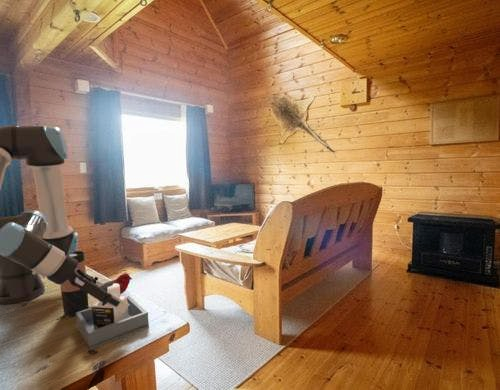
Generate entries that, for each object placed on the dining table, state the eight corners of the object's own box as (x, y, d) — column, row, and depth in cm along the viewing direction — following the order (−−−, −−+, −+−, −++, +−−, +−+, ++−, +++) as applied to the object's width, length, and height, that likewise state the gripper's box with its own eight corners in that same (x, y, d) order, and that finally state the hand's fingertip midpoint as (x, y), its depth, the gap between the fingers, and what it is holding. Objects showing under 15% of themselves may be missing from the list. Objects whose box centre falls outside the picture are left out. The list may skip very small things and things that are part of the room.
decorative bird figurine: (132, 301, 108) (130, 274, 107) (83, 302, 108) (81, 276, 107) (135, 297, 110) (133, 271, 109) (88, 299, 111) (85, 273, 110)
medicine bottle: (93, 328, 88) (89, 289, 87) (108, 316, 95) (105, 280, 94) (115, 330, 87) (111, 290, 86) (129, 317, 94) (126, 281, 93)
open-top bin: (77, 326, 92) (75, 312, 91) (130, 308, 102) (129, 296, 102) (90, 349, 80) (88, 333, 79) (148, 326, 90) (147, 312, 90)
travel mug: (77, 318, 97) (71, 258, 95) (57, 316, 98) (51, 257, 96) (94, 307, 104) (89, 251, 102) (75, 305, 106) (70, 250, 104)
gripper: (39, 266, 88) (99, 299, 100) (52, 291, 69) (124, 328, 81) (58, 245, 91) (114, 279, 102) (76, 264, 72) (142, 303, 84)
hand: (118, 301), depth 92 cm, fingers open, 13 cm apart
